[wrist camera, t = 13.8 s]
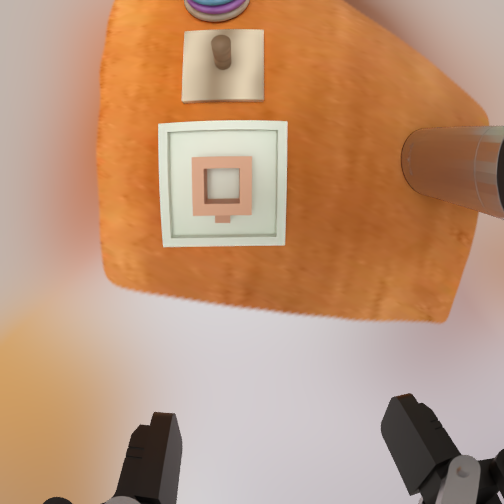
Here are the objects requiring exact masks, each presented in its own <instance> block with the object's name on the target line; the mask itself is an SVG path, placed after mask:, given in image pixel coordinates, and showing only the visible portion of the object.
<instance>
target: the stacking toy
mask: <svg viewBox="0 0 504 504" xmlns="http://www.w3.org/2000/svg"><path fill="white" fill-rule="evenodd" d="M249 1H250V0H184V4H185V7H186V9H187V10H188V12H189V13H190V14H191V15H193V16H194V17H196V18H198V19H200V20H203V21H209V22H220V21H225V20H229V19H232V18H234V17H236V16H237V15H239V14H240V13H242V12H243V11H244V10H245V9H246V7H247V6H248V4H249Z"/></svg>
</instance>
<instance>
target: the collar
mask: <svg viewBox="0 0 504 504" xmlns="http://www.w3.org/2000/svg"><path fill="white" fill-rule="evenodd" d="M211 168H239V198H228V199H208V195H207V169H211ZM192 204H193V216H215V223H230V215H252V156H216V157H192Z"/></svg>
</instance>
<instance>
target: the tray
mask: <svg viewBox="0 0 504 504" xmlns="http://www.w3.org/2000/svg"><path fill="white" fill-rule="evenodd" d="M158 148H159V187H160V209H161V225H162V239H163V247H198V246H272V245H285V229H286V192H287V121H259V120H225V121H194V122H177V123H164V124H158ZM216 156H252V215H230V223H215V216H193V204H192V157H216ZM207 195H208V199H228V198H239V168H211V169H207Z"/></svg>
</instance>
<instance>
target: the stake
mask: <svg viewBox="0 0 504 504" xmlns="http://www.w3.org/2000/svg"><path fill="white" fill-rule="evenodd" d="M263 101H264V30H252V29H222V30H199V31H186V32H185V35H184V52H183V75H182V102H183V103H184V104H185V103H204V102H263Z"/></svg>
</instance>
